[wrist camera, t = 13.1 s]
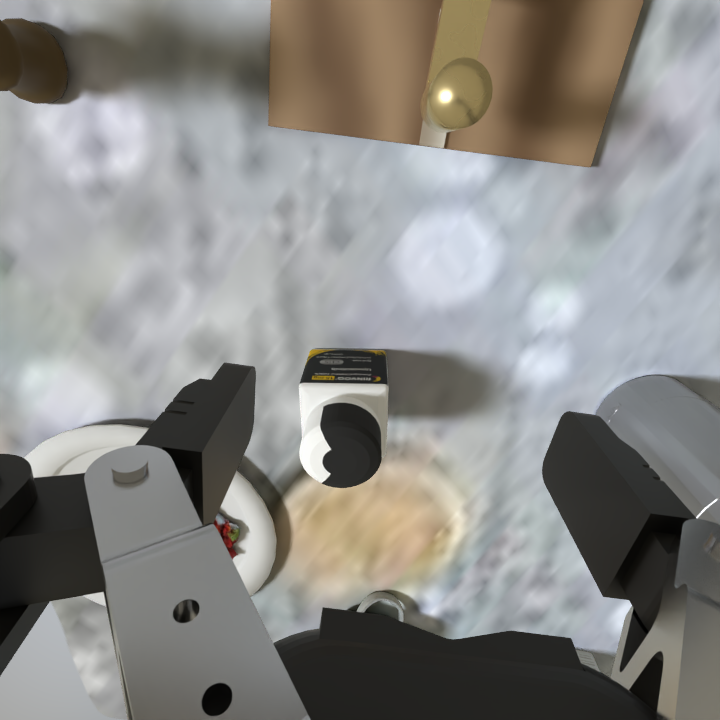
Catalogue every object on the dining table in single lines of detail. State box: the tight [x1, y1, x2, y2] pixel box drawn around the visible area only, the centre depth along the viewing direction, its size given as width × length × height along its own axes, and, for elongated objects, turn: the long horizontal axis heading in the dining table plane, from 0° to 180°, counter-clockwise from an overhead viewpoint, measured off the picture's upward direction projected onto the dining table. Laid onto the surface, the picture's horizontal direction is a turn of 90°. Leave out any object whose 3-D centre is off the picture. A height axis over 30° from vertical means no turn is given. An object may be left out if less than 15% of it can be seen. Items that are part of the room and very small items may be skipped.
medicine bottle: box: [299, 349, 389, 488], centre depth 36 cm, size 7×7×12 cm
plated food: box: [24, 424, 277, 606], centre depth 50 cm, size 30×30×3 cm
